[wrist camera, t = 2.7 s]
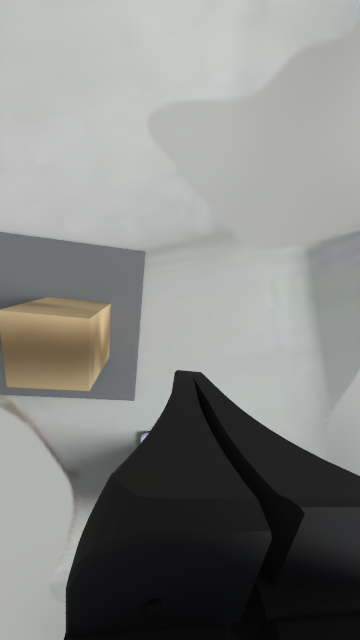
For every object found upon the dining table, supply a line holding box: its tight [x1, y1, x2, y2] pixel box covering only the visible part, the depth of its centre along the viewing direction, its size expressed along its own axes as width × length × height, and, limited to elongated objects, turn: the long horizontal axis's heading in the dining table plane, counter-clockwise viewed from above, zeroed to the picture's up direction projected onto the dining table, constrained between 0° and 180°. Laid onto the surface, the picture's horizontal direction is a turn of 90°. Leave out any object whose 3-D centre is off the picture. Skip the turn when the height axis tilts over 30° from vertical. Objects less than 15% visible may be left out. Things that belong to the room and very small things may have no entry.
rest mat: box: [0, 232, 145, 401], centre depth 17 cm, size 14×12×1 cm
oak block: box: [0, 297, 111, 391], centre depth 14 cm, size 5×5×5 cm
